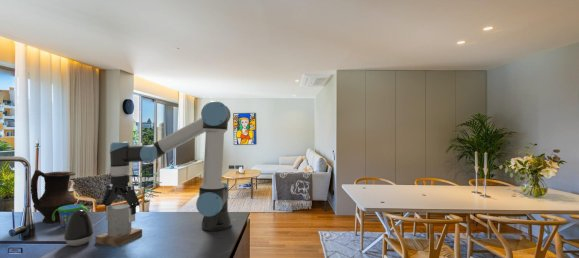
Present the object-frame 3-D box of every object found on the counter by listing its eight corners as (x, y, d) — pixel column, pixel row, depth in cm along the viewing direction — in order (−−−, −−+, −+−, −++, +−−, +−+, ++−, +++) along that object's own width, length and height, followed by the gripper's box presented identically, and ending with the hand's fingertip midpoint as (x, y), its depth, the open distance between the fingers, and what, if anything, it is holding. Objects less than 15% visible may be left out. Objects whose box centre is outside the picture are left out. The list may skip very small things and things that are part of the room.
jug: (62, 213, 163) (62, 165, 163) (84, 216, 158) (85, 166, 158) (19, 225, 142) (19, 169, 143) (43, 228, 137) (43, 170, 138)
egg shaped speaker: (69, 250, 111) (70, 214, 112) (60, 245, 117) (60, 210, 117) (97, 242, 120) (97, 208, 120) (87, 237, 126) (87, 205, 126)
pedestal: (142, 235, 128) (142, 229, 128) (117, 246, 115) (117, 239, 115) (121, 232, 132) (121, 226, 132) (95, 243, 119) (95, 236, 119)
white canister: (123, 236, 119) (123, 209, 119) (102, 236, 119) (102, 209, 119) (136, 229, 128) (136, 203, 128) (116, 229, 128) (116, 203, 128)
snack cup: (92, 221, 149) (92, 203, 149) (82, 227, 139) (83, 208, 139) (59, 223, 145) (59, 205, 145) (47, 230, 135) (47, 210, 135)
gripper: (147, 174, 124) (148, 219, 124) (107, 173, 131) (107, 215, 131) (134, 177, 117) (135, 225, 116) (92, 175, 124) (92, 220, 124)
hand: (120, 220), depth 124 cm, fingers open, 13 cm apart
